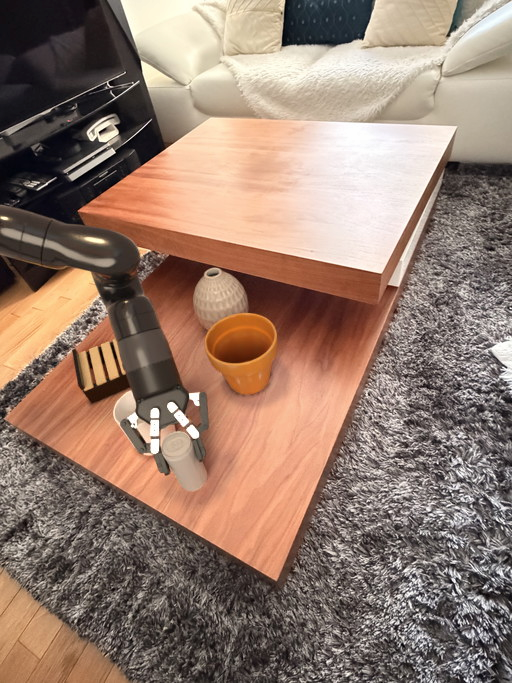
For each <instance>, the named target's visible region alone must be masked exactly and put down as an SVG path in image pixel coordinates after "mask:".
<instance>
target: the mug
mask: <svg viewBox="0 0 512 683" xmlns="http://www.w3.org/2000/svg"><path fill="white" fill-rule="evenodd" d="M135 409H136V402H135V399H134V396H133V394H132V391H131V389H130V390H128V391H127V392H125V393H124V394H123V395H121V397H119V398H118V399H117V400H116V402H115V405H114V407H113V411H112V416H113V419H114V421H115V423H116V424H117V426H119V429H121V431H122V432H123V434H124V435H125V436H126V438H127V439H128V441H129V442H130V444H131V445H132V447H133V448H134V449H135V450H136V448H135V447H134V445H133V444H132V442H131V441H130V439H129V438H128V436H127V435H126V433H125V432H124V430H123V429H122V427H121V426H120V422H121V421H122V420H123V419H124V418H126V417H129V416H130V415H132V414H133V413H135ZM137 421H138V426H137V429H138V431H139V432H140V434H141V435H142V437H143V438H144V440H145V441H146V443H151V426H150V425H149V424H147V423H146V422H144V421H143V420H141V419H140V418H138V419H137ZM175 431H176V424H173V425H168V426H167V427H166V428H163V429H161V444H160V446H161V445H162V442H163V440H164V439H165V437H166V436H167V435H169V434H170V433H172V432H175ZM142 455H144V456H153V454H151V453H144V454H142Z"/></svg>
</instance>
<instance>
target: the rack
mask: <svg viewBox="0 0 512 683" xmlns="http://www.w3.org/2000/svg"><path fill="white" fill-rule="evenodd" d="M71 353H72V358H73V364H74V369H75V375H76V381H77V387H78V388H79V389H80V390H81V391H82V393H83V395H85V397H86V398H87V400H88V401H89V402H90V404H91V405H93V404H95V403H97V402H101V401H102V400H104V399H107V398H109V397H111V396H114V395H116V394H118V393H120V392H123V391H125V390H127V389H128V390H129V389H131V388H130V385H129V382H128V379H127V376H126V373H125V371H124V370H123V367H122V362H121V358H120V355H119V349H118V345H117V341H116V338H113V339H112V341H106V342H104V343H101V344H100V346H98V345H96V346H93V347H91V348H88V351H86V350H83V351H80V352H78V350H77V349H76V348H73V349H71ZM116 359H117V360H118V361H117V362H118V364H119V367H120V371H121V372H119V370H118V366H117V363H116ZM104 364H105V367H106V370H107V374H108V377H107V376H106V373H105V368H104ZM91 370H93V375H94V380H95V383H94V380H93V376H92V372H91Z"/></svg>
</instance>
